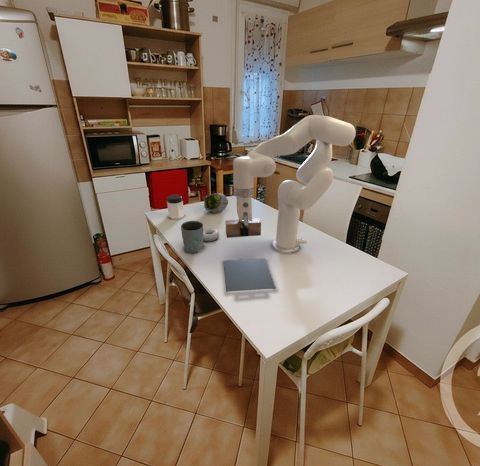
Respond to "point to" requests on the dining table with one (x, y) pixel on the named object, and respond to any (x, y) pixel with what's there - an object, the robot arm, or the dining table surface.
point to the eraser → (235, 225)
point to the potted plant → (215, 202)
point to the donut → (210, 234)
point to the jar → (175, 206)
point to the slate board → (247, 275)
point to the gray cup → (192, 236)
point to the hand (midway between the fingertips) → (243, 232)
